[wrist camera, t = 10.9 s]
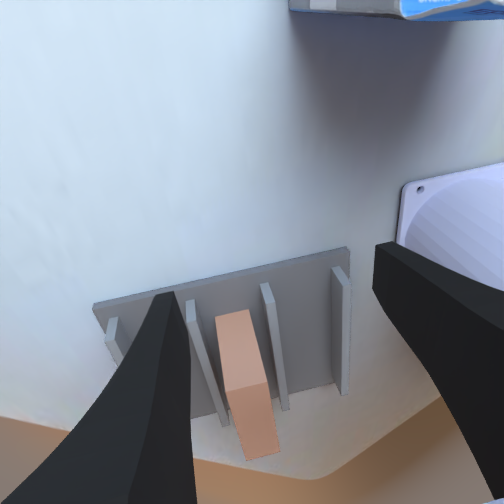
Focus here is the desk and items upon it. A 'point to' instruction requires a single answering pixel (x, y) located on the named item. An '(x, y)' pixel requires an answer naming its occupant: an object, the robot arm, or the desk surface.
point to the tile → (246, 385)
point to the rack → (255, 325)
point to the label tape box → (407, 9)
